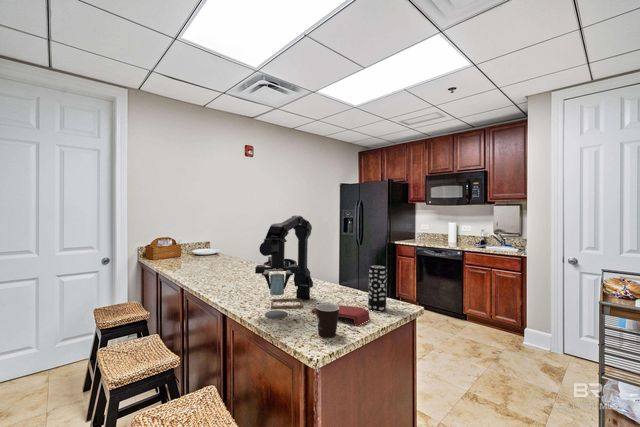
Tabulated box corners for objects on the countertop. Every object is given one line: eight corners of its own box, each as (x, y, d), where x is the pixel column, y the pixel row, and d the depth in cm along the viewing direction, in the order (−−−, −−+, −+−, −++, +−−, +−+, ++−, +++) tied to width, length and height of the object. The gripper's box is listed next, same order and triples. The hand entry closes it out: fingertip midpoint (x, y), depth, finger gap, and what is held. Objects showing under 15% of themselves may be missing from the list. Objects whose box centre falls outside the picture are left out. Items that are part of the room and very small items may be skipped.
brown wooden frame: (301, 300, 151) (301, 298, 151) (303, 308, 139) (303, 305, 139) (271, 301, 148) (271, 298, 148) (270, 309, 136) (271, 306, 136)
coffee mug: (336, 340, 104) (337, 312, 104) (313, 337, 106) (313, 310, 106) (341, 328, 116) (341, 302, 116) (319, 325, 117) (320, 300, 117)
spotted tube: (387, 308, 142) (388, 266, 142) (383, 313, 134) (384, 269, 134) (370, 305, 145) (371, 264, 145) (366, 310, 138) (367, 267, 138)
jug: (284, 296, 124) (284, 277, 124) (269, 296, 123) (270, 277, 123) (283, 291, 132) (284, 273, 132) (270, 291, 132) (270, 273, 132)
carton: (310, 321, 133) (355, 327, 117) (309, 309, 134) (354, 315, 117) (327, 314, 142) (372, 320, 126) (326, 304, 143) (371, 308, 126)
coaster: (287, 310, 135) (287, 310, 135) (288, 318, 125) (288, 317, 125) (265, 311, 133) (265, 310, 133) (264, 319, 123) (264, 318, 123)
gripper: (298, 250, 138) (297, 284, 138) (257, 250, 135) (256, 284, 136) (299, 254, 127) (299, 290, 127) (255, 254, 124) (254, 291, 125)
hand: (277, 288), depth 129 cm, fingers closed on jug, 6 cm apart
